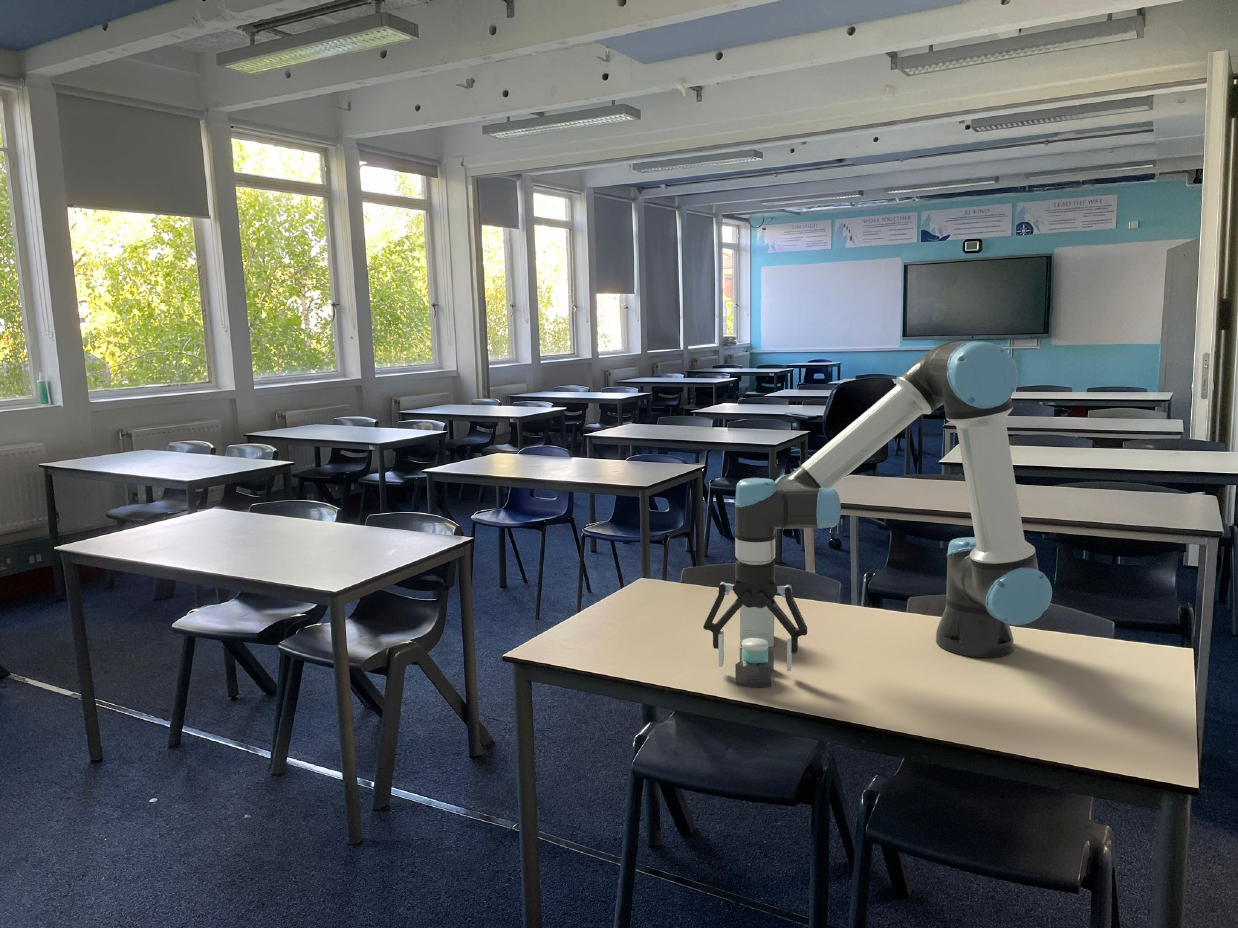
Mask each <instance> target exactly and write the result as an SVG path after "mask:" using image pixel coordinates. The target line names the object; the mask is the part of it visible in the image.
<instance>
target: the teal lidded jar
mask: <svg viewBox="0 0 1238 928" xmlns="http://www.w3.org/2000/svg"><path fill="white" fill-rule="evenodd" d="M741 648H742V661H745V662H749V663H764V662H767V663H768V649H769V647H768V642H767V641H766V640H764V639H760V638H748V639H744V640H743V641H742V645H741Z"/></svg>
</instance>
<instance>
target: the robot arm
mask: <svg viewBox="0 0 1238 928" xmlns="http://www.w3.org/2000/svg"><path fill="white" fill-rule="evenodd" d="M1018 382H1019V370H1018V367H1017V363H1016V361H1015V359H1014V358H1013V356H1012V355H1011V354H1010V353H1009V351H1007V350H1006V349H1004V348H1003V347H1002V346H1000V345H997V344H995V343H992V342H988V341H985V340H984V341H983V340H969V341H967V340H966V341H965V340H964V341H961V340H960V341H959V340H950V341H947V342H944V343H941V344H939V345H936V346H935V347H933V348H932V349H931V350H929V351H928V352H927V353H925V354H924V355H923V356H922V357H920V358H919V359H918V360H917V361H916V362H914V363H913V364H912V365H911V366H910V367H909V368H907V370H905V372H903V373H902V374H901V375H899V376H898V377H897V378H896V385H895V386H894V387H893V388H892V389H891V390H890V391H888V392H887V393H885V394H884V396H882V397H881V398H880V399H878V400H877V401H876V402H875V403H874V404H872V406H871V407H869V408H867V410H865V411H864V412H863V413H862V414H861V415H860V416H858V418H856V419H855V420H854V421H852V422H851V423H850V424H849V425H847V426H846V428H844V429H843V430H842V431H840V432H839V433H838V434H837V435H836V436H835V437H834V438H832V439H831V440H830V441H828V442H827V443H826V444H825V445H824V446H822V448H820V449H819V450H818V451H817V452H816V453H814V454H813V455H812V456H811V457H809V459H807V460H806V461H805V462H804V463H802V464H800V466H799V467H798V468H796V469H795V470H793V472H791V473H789V474H784V475H781V476H779V477H778V478H776V479H775V481H774V480H773V479H771V478H766V477H764V478H763V477H761V478H760V477H750V478H742V479H740V480H739V481H738V482H737V483H736V486H735V487H736V488H735V501H734V507H735V508H734V510H735V511H734V512H735V513H734V515H735V516H734V518H735V523H734V524H735V540H734V541H735V544H734V545H735V546H734V548H735V549H734V550H735V554H734V555H735V558H736V559H737V560H735V568H734V570H735V578H734V579H735V581H734V583H728V582H726V581H725V580H722V581H720V584H719V586H718V595H717V596H716V598H715V601H714V603H713V604H712V607H711V609H710V610H709V613H708V615H707V617H706V619H705V621H704V624H703V630H705V631H710V632H711V633H712V647H713V649H715V650H718V667H723V666H724V663H725V631H724V630H723V628H724V627H725V625H727V623H728V622H729V621H730V620H731V619H732V617H733V616H734V615H735V614H736V613H737V612H738V610H739V611H740V607H741V606H742V605H744V606H747V607H748V608H751V607H757V608H763V607H766V606H767V608H768V609H769V610H770V611H771V612H772V613H773V614H774V615H775V618H776V619H777V620H778V622H779V623H780V624H781V625H782V626H783V628H784V629H785V631H786V632H787V633H788V634H787V638H786V639H787V640H786V642H787V644H786V645H787V646H786V649H787V650H786V655H787V656H786V671H787V672H792V667H793V666H792V663H793V662H792V657H793V656H792V655H793V654H797V653H798V649H799V640H798V639H799V637H802V636H803V637H804V636H807V634H808V625H807V624H806V622H805V620H804V617H803V615H802V614H801V613H802V612H801V611H800V609H799V607H798V605H797V603H796V601H795V598H794V596H793V589H792V588H793V587H792V585H791V584H790V583H787V584H785V585H777V583H776V562H775V561H774V559H775V558H776V530H778V529H779V530H780V529H781V530H785V529H819V530H821V529H826V528H828V529H829V528H834V527H836V526H837V525H838V524H839V522H840V518H841V499H840V496H839V493H838V491H837V490H836V489H834V487H835V486H836V485H837V484H838V483H840V482H841V481H843V479H844V478H846V477H847V476H848V475H849V474H850V473H852V472H853V471H854V470H856V469H857V468H858V467H860V465H862V464H863V463H864V462H865V461H866V460H868V459H869V458H871V456H872V455H874V454H875V453H876V452H877V451H879V450H880V449H881V448H882V447H883V446H885V445H886V444H887V443H889V442H890V441H891V440H892V439H893V438H894V437H896V436H897V435H898V434H899V433H901V432H902V431H903V430H904V429H905V428H907V427H908V426H909V425H910V424H911V423H913V422H914V421H915V420H916V419H918V417H920V416H922V415H930V414H932V413H933V412H934V411H936V409H938V408H939V407H941V406H942V405H943V407H944V412H945V418H946V420H947V422H950V423H951V424H953V425H954V426H955V427H956V432H957V438H958V443H959V450H960V456H961V463H962V467H963V474H964V480H965V486H966V492H967V497H968V502H969V508H970V509H969V510H970V514H971V515H970V517H971V521H972V527H973V533H974V536H973V537H972V536H970V537H957V538H954V539H951V540H950V541H949V543H948V548H947V553H946V557H947V558H946V560H947V563H946V596H945V598H946V599H945V601H946V602H945V609H944V611H943V613H942V616H941V618H940V621H939V623H938V625H937V629H936V632H935V643H936V644H937V645H938V646H939V647H940V648H941V649H943V650H946V651H948V652H950V653H953V654H957V655H961V656H967V657H975V658H999V657H1005V656H1007V655H1009V654H1011V653H1012V652H1013V651H1014V640H1015V639H1014V636H1013V632H1012V630H1011V626H1010V625H1012V626H1022V625H1026V624H1029V623H1032V622H1035V621H1036V620H1037V619H1039V618H1040V617H1041V616H1043V613H1044V612H1045V611H1046V610H1047V609H1048V608H1049V606H1050V604H1051V601H1052V596H1053V589H1052V585H1051V582H1050V580H1049V579H1048V577H1047V576H1046V574H1045V573H1044V572H1042V571H1040V569H1039V565H1038V558H1037V553H1036V552H1037V551H1036V548H1035V546H1034V545H1032V544H1031V543H1030V542H1028V541H1027V540H1026V538H1025V534H1024V529H1023V528H1024V527H1023V522H1022V516H1021V510H1020V505H1019V504H1020V503H1019V496H1018V489H1017V482H1016V477H1015V472H1014V471H1015V470H1014V466H1013V465H1014V464H1013V457H1012V454H1011V453H1012V452H1011V446H1010V440H1009V439H1010V438H1009V434H1008V427H1007V422H1006V421H1007V420H1006V419H1007V417H1008V415H1010V413H1011V412H1012V410H1013V409H1014V407H1013V401H1012V396H1013V393H1014V391H1015V390H1016V388H1017V386H1018ZM732 591H733V593H734V595H735V596H736V597H737V598H736V599H735V601H734V602H733V603H732V604H731V605H730V606H729V607H728V608H727V610H726V611H725V612H724V613H723V614H722V616H720V618H719V619H718V620H717V621H716V623H714V622H713V621H714V619H715V618H716V616H717V614H718V612H719V609H720V608H721V605H722V604H723V601H724V599H725V596H729V594H730V592H732ZM777 594H780V596H781V597H782V598H783V599H785V602H786V604H787V607H788V609H789V611H790V613H791V615H792V617H793V619H794V622H795V624H796V625H794V624H793V623H794V622H792V621H791V620H790V618H789V617H788V616H787V615H786V613H785V612H784V611H783V610H782V608H781V606H779V605H778V603H777V601H776V599H775V600H774V599H773V598H774V596H775V597H776V595H777ZM796 626H797V627H796Z"/></svg>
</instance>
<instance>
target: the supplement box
mask: <svg viewBox="0 0 1238 928" xmlns="http://www.w3.org/2000/svg"><path fill="white" fill-rule="evenodd" d="M773 599H774V600H775V601H776V595H775V596H774V598H773ZM775 618H776V617H775V615H774V614H773V613H772V612H771V611H770V610H769V609H768V608H767V606H766V607H763V608H757V607H751V608H748V607H747V606H744V605H742V606H741V607H740V609H739V645H740V646H742V641H743V640H744V639H748V638H760V639H764V640H766V641H767V642H768V648H773V647H774V643H775Z"/></svg>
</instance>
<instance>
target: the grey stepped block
mask: <svg viewBox="0 0 1238 928" xmlns="http://www.w3.org/2000/svg"><path fill="white" fill-rule="evenodd" d="M774 652H775V650H774V649H772V648H768V663H767V662H764V663H749V662H745V661H742V647H739V662H737V663H735V664H734V665H735V666H734V667H735V672H734V673H735V685H737V686H738V685H739V686H742V687H745V688H757V689H762V688H770V687H772V671H773V670H774V669H775V667H774V666H775V664H774V663H775V658H774V657H775V653H774Z"/></svg>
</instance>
